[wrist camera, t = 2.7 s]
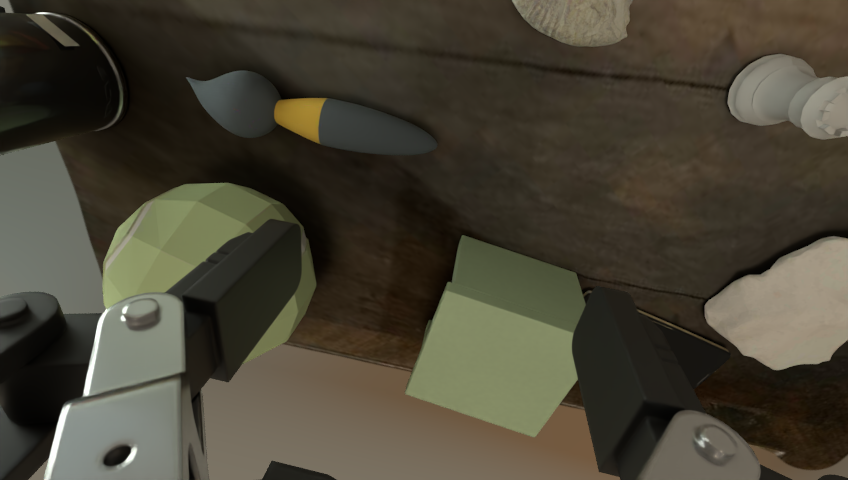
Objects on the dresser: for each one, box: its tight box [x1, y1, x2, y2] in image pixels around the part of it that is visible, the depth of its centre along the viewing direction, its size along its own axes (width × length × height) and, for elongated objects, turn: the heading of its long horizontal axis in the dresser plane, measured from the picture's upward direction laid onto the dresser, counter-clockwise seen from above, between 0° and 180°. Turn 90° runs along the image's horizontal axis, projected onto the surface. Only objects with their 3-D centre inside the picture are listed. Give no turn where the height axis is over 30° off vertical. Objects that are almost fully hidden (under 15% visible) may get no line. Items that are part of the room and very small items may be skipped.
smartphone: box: [583, 291, 730, 390], centre depth 38 cm, size 7×1×15 cm
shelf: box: [405, 235, 586, 437], centre depth 35 cm, size 12×12×9 cm
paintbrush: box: [186, 71, 437, 155], centre depth 31 cm, size 20×5×5 cm, turn 84°
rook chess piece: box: [728, 54, 848, 139], centre depth 24 cm, size 4×4×8 cm
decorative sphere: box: [103, 183, 316, 364], centre depth 33 cm, size 15×15×15 cm
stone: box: [704, 236, 848, 370], centre depth 31 cm, size 11×4×15 cm
